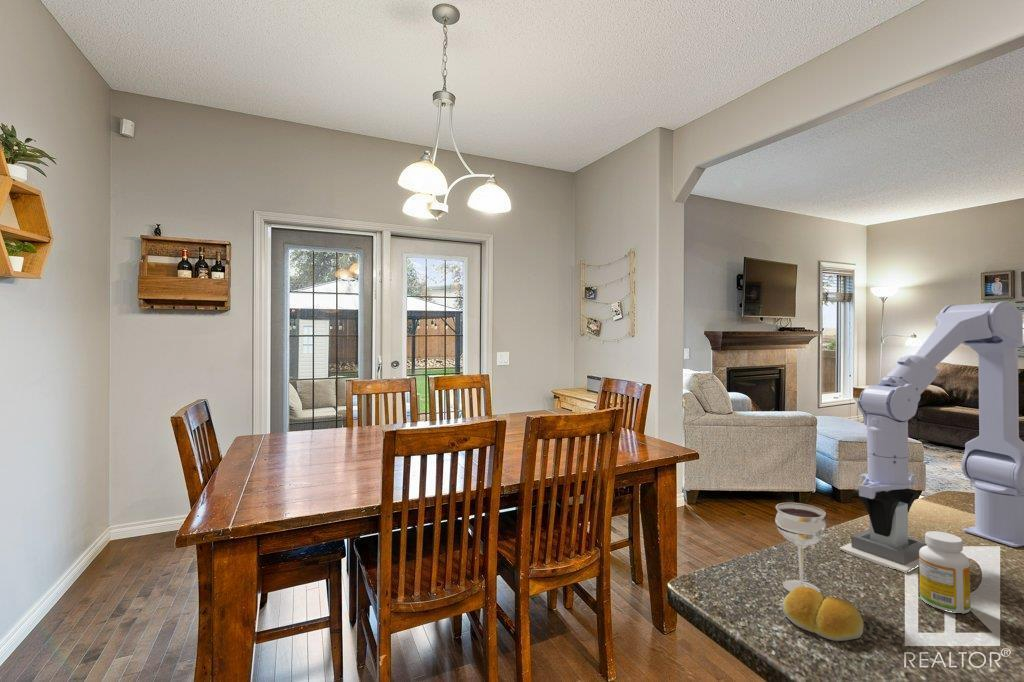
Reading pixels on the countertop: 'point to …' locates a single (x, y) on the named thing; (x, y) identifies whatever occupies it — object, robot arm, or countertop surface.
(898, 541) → the block
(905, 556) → the dock
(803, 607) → the bread roll
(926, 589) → the supplement bottle
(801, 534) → the wineglass
